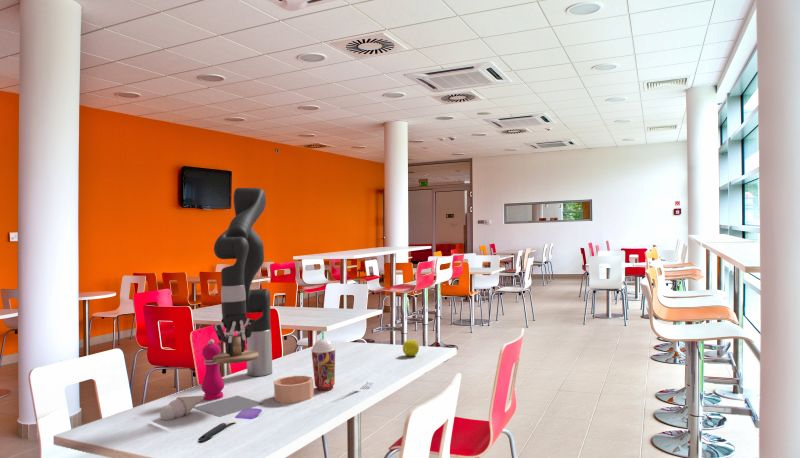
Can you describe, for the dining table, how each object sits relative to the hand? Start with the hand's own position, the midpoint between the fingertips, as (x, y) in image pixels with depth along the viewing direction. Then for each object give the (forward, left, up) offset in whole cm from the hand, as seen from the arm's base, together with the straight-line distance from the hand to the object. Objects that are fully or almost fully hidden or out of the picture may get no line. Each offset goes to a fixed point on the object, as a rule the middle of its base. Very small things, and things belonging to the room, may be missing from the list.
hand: (235, 352), depth 182 cm
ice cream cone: (-5, -15, -17) cm, 24 cm away
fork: (+21, +29, -18) cm, 40 cm away
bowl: (+9, +15, -17) cm, 25 cm away
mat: (-1, -3, -17) cm, 17 cm away
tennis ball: (-1, +85, -17) cm, 87 cm away
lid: (0, 0, -2) cm, 2 cm away
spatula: (+16, -13, -18) cm, 27 cm away
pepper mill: (-14, -1, -17) cm, 22 cm away
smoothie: (+8, +29, -17) cm, 35 cm away
